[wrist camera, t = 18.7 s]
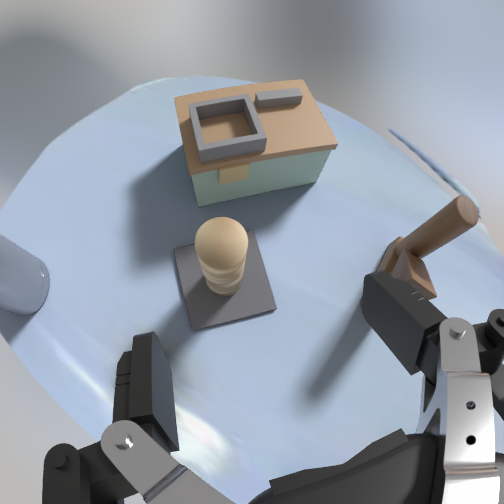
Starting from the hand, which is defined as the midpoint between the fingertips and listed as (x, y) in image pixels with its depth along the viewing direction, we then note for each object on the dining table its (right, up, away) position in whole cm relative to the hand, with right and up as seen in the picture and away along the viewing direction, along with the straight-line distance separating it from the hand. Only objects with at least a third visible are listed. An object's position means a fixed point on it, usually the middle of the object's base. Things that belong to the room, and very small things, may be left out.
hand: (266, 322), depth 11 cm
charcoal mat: (-4, -1, +30) cm, 30 cm away
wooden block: (+19, -1, +31) cm, 36 cm away
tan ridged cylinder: (-4, -1, +29) cm, 29 cm away
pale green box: (-1, +16, +36) cm, 39 cm away
